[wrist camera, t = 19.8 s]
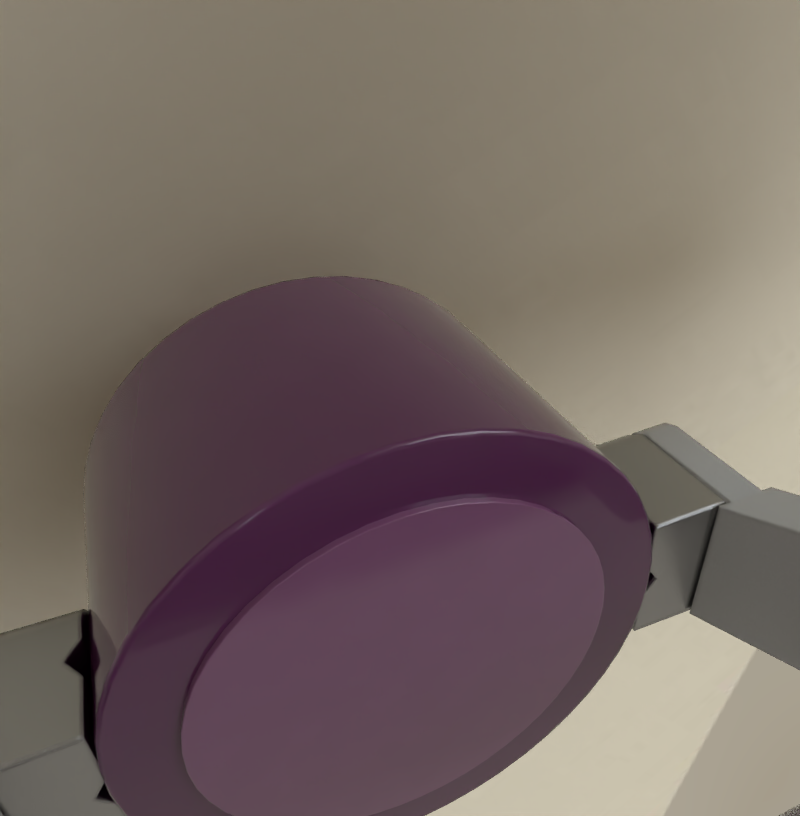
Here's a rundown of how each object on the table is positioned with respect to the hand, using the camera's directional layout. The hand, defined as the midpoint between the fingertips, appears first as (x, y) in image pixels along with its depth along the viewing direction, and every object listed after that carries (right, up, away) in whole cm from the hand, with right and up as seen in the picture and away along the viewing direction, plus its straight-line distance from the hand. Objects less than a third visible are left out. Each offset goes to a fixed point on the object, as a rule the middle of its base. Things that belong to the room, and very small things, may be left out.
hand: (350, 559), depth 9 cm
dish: (-1, +1, +1) cm, 2 cm away
